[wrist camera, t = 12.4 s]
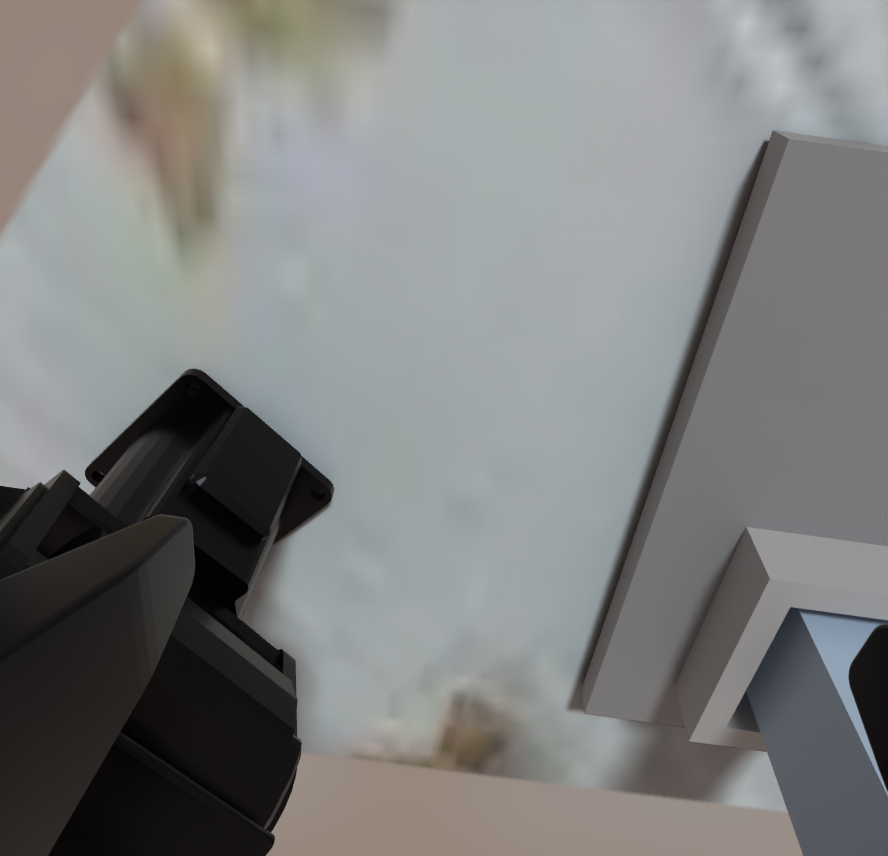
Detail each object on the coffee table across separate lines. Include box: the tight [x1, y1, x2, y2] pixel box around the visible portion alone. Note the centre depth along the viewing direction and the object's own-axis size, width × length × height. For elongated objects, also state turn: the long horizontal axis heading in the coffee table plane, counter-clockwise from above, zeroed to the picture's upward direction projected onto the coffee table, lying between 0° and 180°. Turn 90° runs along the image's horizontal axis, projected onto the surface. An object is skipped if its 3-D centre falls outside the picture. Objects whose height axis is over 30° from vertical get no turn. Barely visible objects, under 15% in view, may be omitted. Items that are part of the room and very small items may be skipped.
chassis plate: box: [582, 131, 888, 752], centre depth 22 cm, size 22×14×4 cm, turn 173°
